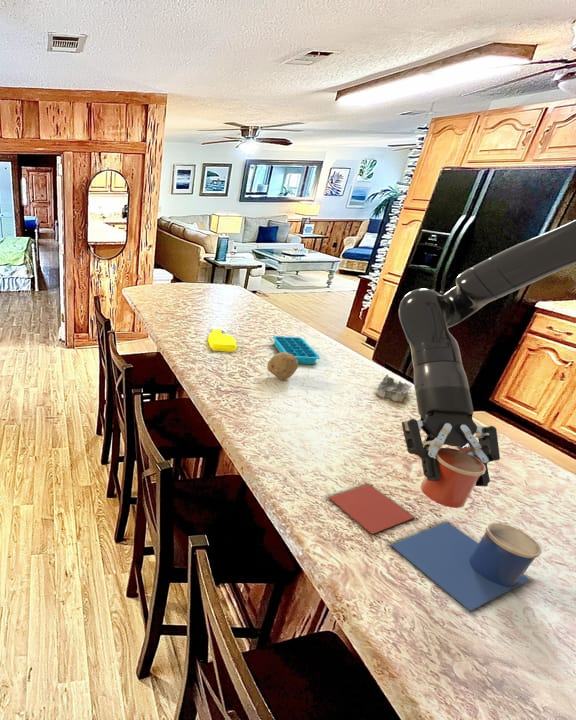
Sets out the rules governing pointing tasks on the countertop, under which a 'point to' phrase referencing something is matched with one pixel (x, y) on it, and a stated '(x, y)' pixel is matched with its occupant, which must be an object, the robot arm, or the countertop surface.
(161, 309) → the countertop surface
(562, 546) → the countertop surface
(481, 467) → the red tapered cylinder
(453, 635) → the countertop surface
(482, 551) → the blue crock
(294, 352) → the ice cube tray
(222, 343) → the yellow lump
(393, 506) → the rust mat
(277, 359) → the natural sponge
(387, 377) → the egg carton
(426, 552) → the blue mat
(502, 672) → the countertop surface
